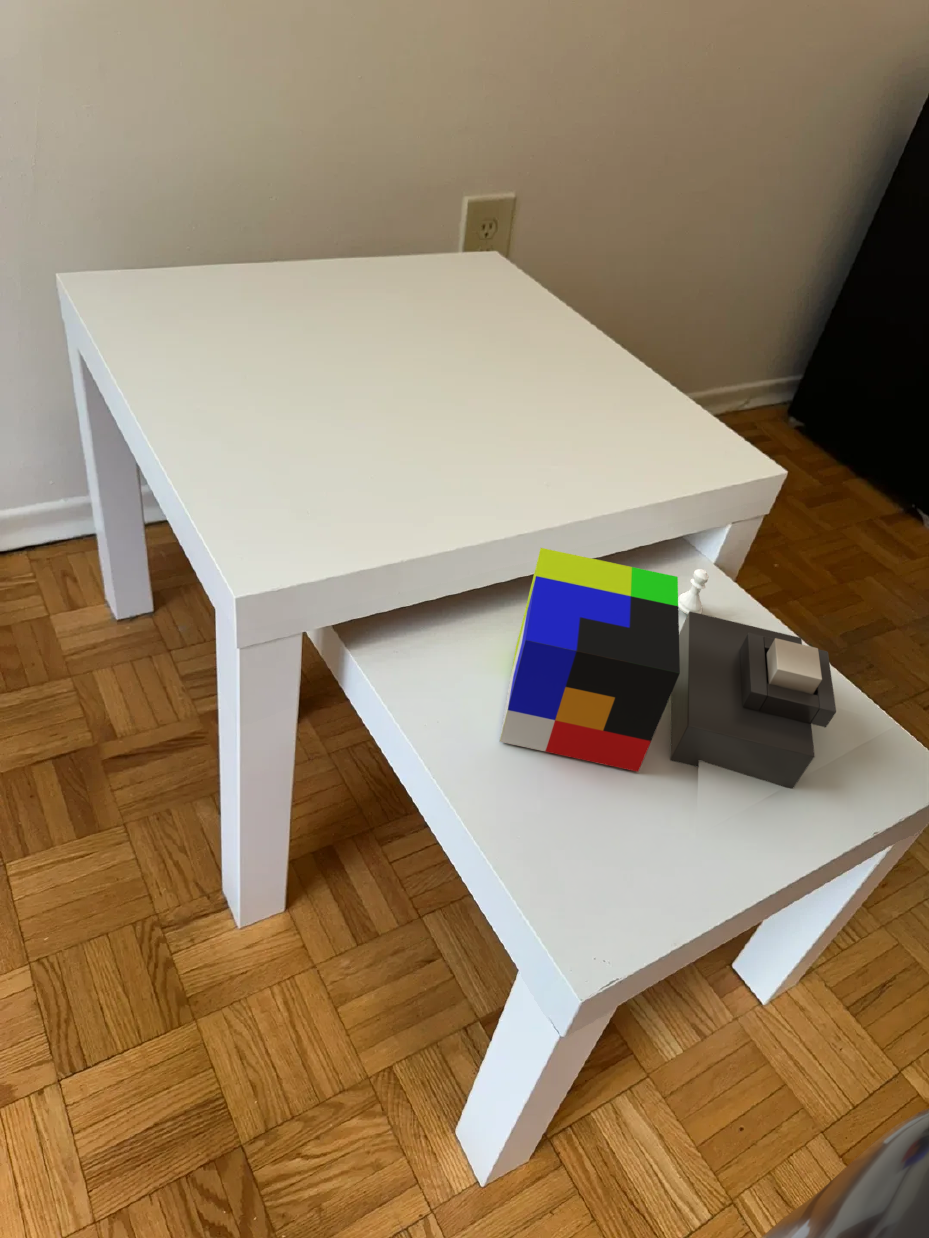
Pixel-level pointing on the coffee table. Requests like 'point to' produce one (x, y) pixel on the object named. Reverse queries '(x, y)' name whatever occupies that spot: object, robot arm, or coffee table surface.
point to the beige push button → (793, 666)
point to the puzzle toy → (593, 660)
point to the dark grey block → (742, 703)
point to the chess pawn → (693, 593)
